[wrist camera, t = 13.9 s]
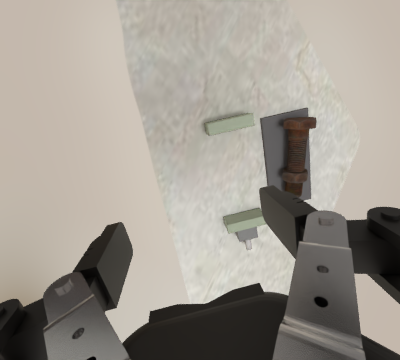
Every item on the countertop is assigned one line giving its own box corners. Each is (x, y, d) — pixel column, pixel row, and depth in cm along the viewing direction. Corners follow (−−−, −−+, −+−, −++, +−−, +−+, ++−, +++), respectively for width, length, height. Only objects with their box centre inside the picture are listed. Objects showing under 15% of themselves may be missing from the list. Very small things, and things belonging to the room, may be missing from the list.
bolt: (280, 188, 45) (284, 117, 39) (306, 190, 43) (314, 116, 37) (278, 200, 40) (283, 120, 34) (307, 203, 38) (317, 119, 32)
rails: (204, 123, 37) (207, 124, 34) (246, 113, 38) (253, 113, 34) (229, 246, 47) (233, 257, 43) (262, 238, 47) (269, 247, 44)
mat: (260, 118, 38) (261, 118, 38) (306, 108, 39) (307, 107, 38) (270, 207, 45) (271, 208, 44) (309, 197, 45) (311, 198, 44)
